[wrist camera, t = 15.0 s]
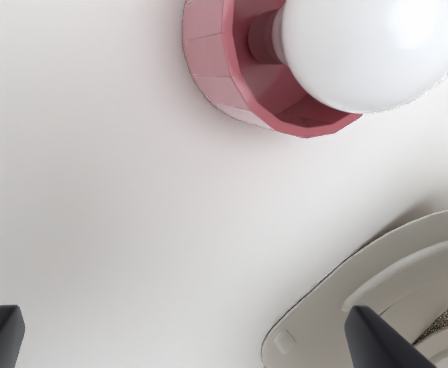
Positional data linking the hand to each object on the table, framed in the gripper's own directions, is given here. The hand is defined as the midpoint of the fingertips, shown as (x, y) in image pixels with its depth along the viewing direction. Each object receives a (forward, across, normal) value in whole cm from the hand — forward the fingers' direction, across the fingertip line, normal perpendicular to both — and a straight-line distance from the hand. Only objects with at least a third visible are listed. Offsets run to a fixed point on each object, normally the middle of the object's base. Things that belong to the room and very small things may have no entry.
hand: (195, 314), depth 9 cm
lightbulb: (+14, -4, -5) cm, 16 cm away
